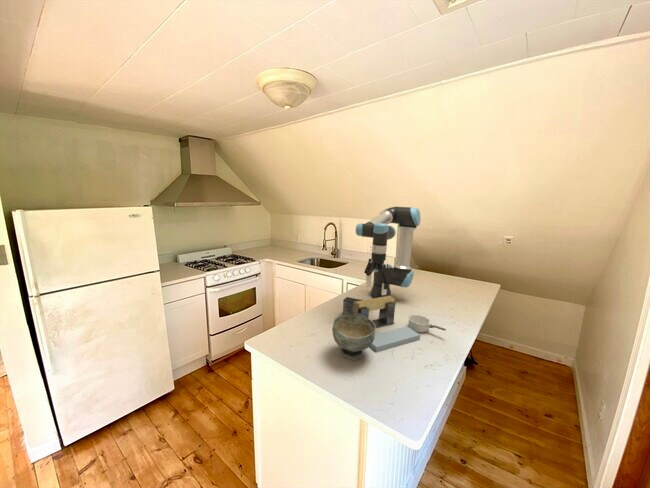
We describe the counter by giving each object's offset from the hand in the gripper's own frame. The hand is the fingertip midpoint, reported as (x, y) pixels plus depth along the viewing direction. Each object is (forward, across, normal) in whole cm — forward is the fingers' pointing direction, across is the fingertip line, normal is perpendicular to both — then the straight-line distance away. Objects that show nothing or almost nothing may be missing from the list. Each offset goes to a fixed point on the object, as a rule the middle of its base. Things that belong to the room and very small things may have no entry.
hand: (375, 290), depth 148 cm
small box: (+21, -14, -5) cm, 26 cm away
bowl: (+21, +19, -26) cm, 38 cm away
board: (+21, +17, -1) cm, 27 cm away
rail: (+10, 0, 0) cm, 11 cm away
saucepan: (+21, +17, +22) cm, 35 cm away
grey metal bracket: (+20, 0, 0) cm, 21 cm away
